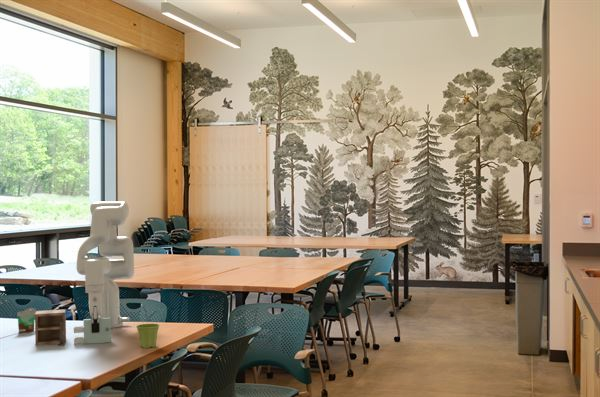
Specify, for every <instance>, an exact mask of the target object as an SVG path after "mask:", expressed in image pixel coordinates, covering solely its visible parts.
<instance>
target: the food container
mask: <svg viewBox="0 0 600 397" xmlns="http://www.w3.org/2000/svg"><path fill="white" fill-rule="evenodd" d="M36 311H37V310H36V308H35V307H34V308H33V307H26V309H25V310H22V311H17V314H16V315H17V325H18V328H17V329H18V334H27V333H33V332H35V313H36Z"/></svg>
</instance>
